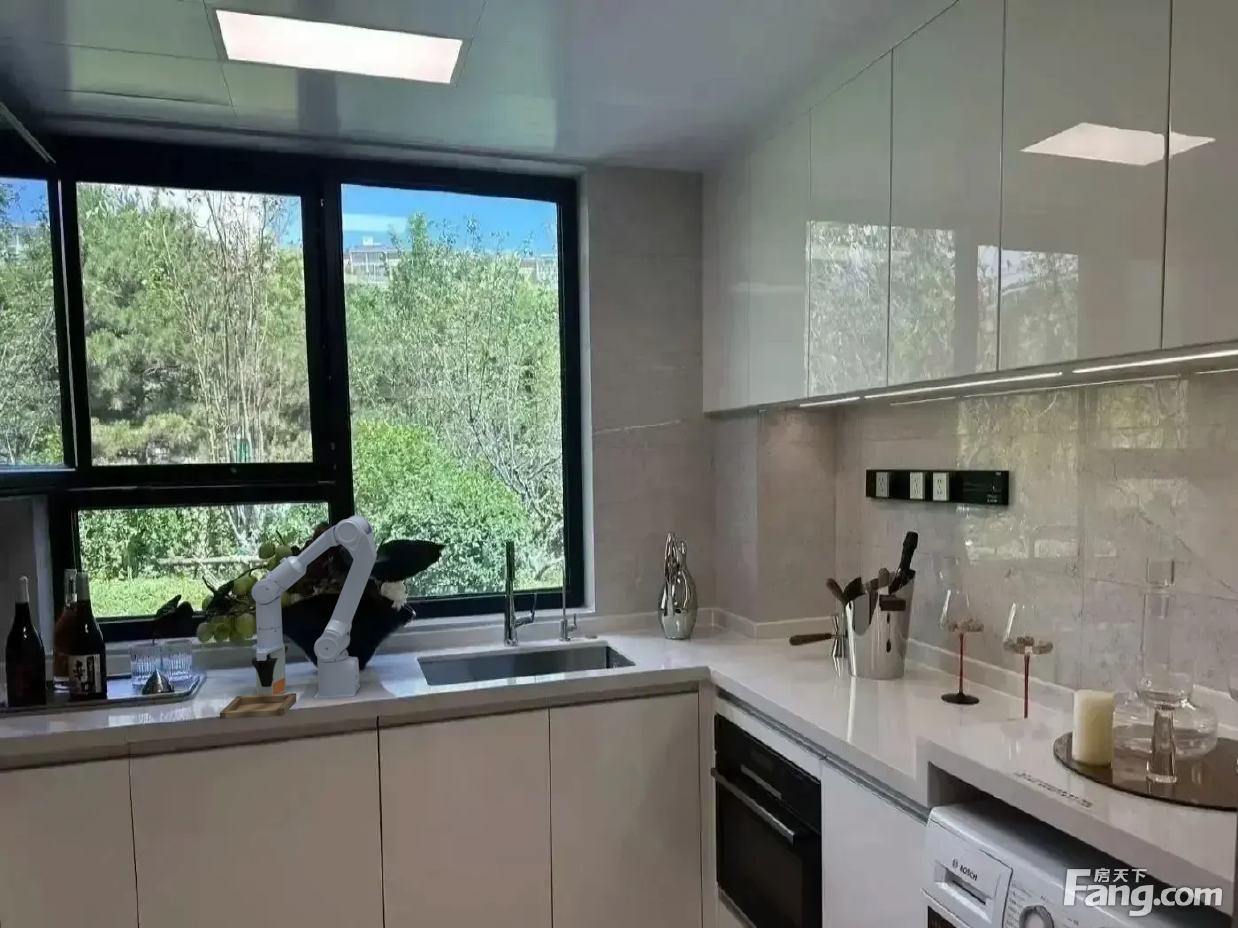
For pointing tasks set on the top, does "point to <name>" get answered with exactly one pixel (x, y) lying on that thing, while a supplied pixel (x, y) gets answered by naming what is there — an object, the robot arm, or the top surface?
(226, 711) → the tray
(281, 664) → the skincare box
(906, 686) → the top surface
